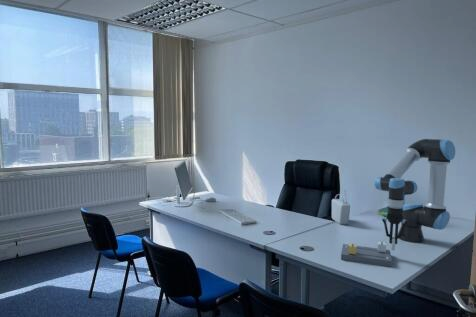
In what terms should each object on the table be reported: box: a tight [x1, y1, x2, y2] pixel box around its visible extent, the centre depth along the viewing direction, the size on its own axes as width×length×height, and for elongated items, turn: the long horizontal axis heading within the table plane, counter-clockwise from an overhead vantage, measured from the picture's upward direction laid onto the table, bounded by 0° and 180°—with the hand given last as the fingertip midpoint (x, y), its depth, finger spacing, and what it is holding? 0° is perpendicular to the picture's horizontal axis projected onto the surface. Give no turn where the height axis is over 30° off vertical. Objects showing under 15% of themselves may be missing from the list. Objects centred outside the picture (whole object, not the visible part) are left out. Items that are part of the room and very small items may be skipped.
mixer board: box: [340, 243, 393, 268], centre depth 191 cm, size 25×18×3 cm
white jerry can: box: [331, 189, 351, 226], centre depth 264 cm, size 22×8×25 cm, turn 4°
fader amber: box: [348, 243, 358, 255], centre depth 189 cm, size 4×5×4 cm
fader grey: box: [376, 241, 387, 252], centre depth 193 cm, size 4×5×4 cm
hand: (392, 249), depth 191 cm, fingers closed
